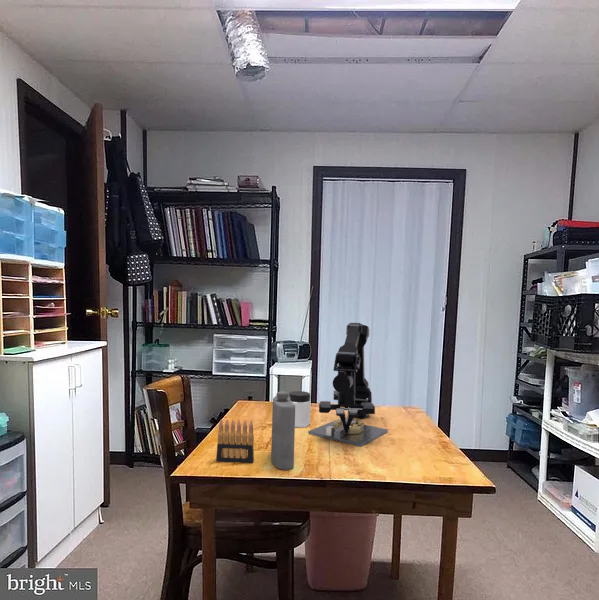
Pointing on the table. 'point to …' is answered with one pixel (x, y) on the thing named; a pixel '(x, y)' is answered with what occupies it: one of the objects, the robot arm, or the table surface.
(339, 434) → the ring nut
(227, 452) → the ammunition clip
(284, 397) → the flask
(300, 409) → the jar
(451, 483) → the table surface
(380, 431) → the cap plate
